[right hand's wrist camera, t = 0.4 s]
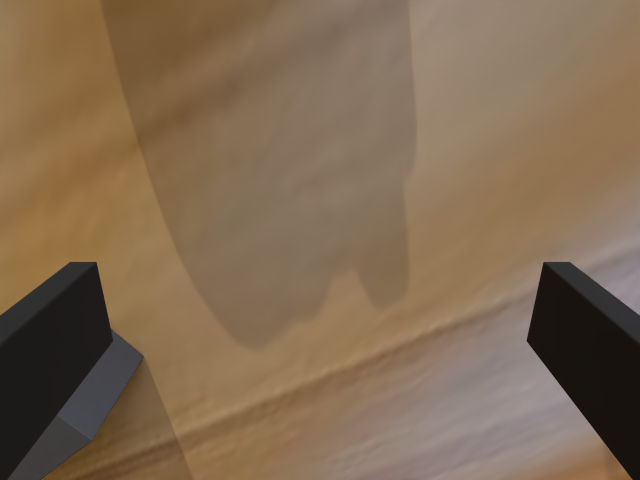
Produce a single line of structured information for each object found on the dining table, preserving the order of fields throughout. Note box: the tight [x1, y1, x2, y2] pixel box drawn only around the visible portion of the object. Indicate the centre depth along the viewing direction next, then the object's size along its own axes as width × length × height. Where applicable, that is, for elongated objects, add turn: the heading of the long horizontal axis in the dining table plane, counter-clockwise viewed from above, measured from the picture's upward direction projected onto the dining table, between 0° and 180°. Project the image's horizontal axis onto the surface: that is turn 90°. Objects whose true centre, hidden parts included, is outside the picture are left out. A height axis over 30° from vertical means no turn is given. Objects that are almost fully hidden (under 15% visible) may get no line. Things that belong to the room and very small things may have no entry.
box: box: [7, 329, 144, 480], centre depth 42 cm, size 26×6×11 cm, turn 130°
